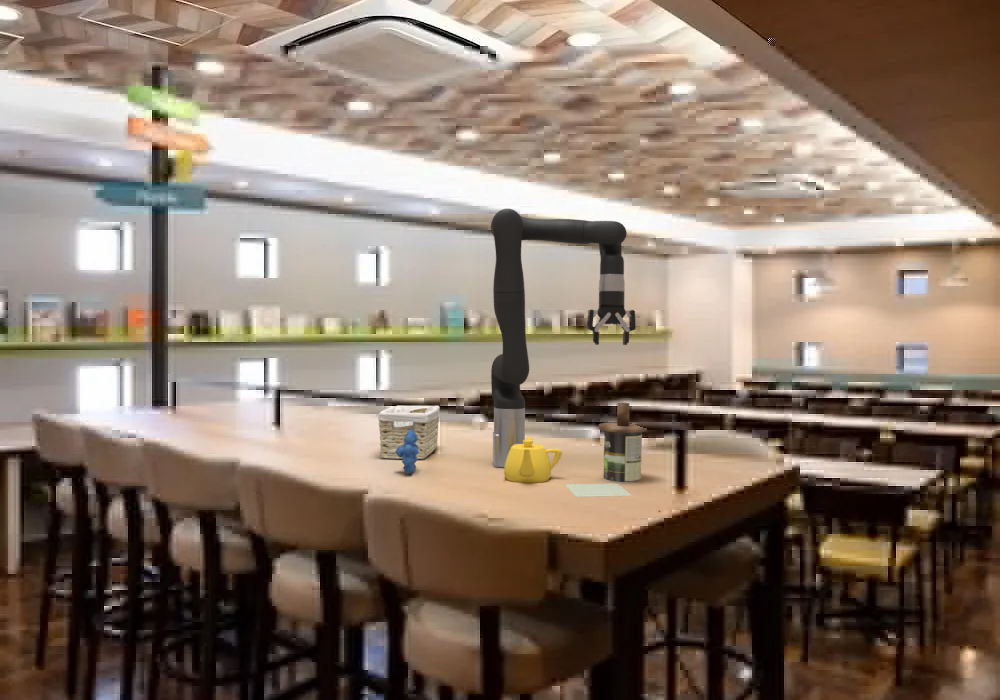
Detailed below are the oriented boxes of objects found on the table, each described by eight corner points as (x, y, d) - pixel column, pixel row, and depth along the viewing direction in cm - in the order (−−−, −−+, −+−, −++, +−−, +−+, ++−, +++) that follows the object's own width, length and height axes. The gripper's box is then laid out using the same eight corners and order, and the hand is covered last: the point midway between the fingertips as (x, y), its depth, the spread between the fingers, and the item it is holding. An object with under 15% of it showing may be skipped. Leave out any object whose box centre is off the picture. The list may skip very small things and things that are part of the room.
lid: (605, 432, 198) (605, 406, 197) (593, 426, 211) (593, 400, 210) (654, 432, 199) (654, 405, 199) (639, 425, 212) (639, 400, 212)
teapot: (561, 489, 194) (562, 447, 194) (501, 488, 196) (501, 446, 195) (561, 472, 216) (561, 434, 216) (506, 471, 217) (507, 433, 217)
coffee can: (605, 484, 200) (605, 431, 200) (601, 476, 211) (602, 426, 210) (644, 485, 200) (645, 432, 200) (638, 477, 210) (639, 426, 210)
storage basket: (393, 447, 257) (394, 404, 257) (441, 448, 256) (441, 404, 255) (376, 460, 234) (376, 412, 233) (428, 461, 232) (428, 413, 232)
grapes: (398, 468, 220) (399, 427, 220) (422, 468, 220) (422, 427, 219) (391, 476, 209) (391, 433, 208) (415, 477, 208) (415, 433, 208)
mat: (575, 499, 184) (575, 496, 184) (564, 486, 198) (564, 484, 198) (632, 498, 185) (632, 495, 185) (617, 485, 199) (617, 483, 199)
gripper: (591, 289, 221) (590, 345, 222) (638, 290, 223) (637, 345, 223) (585, 290, 229) (584, 344, 229) (631, 291, 230) (630, 344, 231)
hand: (610, 344), depth 226 cm, fingers open, 8 cm apart
